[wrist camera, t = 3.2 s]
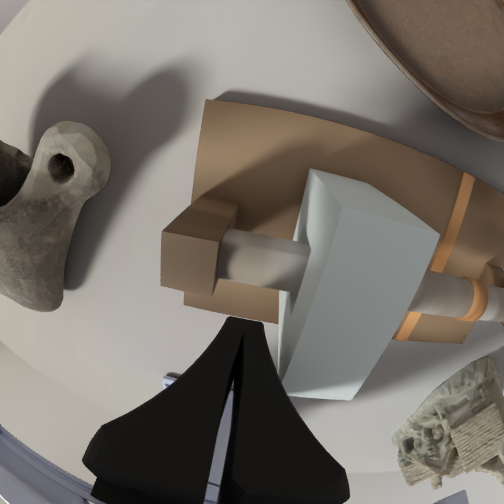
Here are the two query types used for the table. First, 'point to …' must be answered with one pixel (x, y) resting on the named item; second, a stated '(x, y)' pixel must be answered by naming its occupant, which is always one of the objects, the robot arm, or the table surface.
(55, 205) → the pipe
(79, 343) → the table surface
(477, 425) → the ceramic cottage
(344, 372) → the collar
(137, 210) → the table surface
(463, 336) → the rod stand
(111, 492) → the robot arm
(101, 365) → the table surface
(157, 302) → the table surface
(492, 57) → the plant saucer
